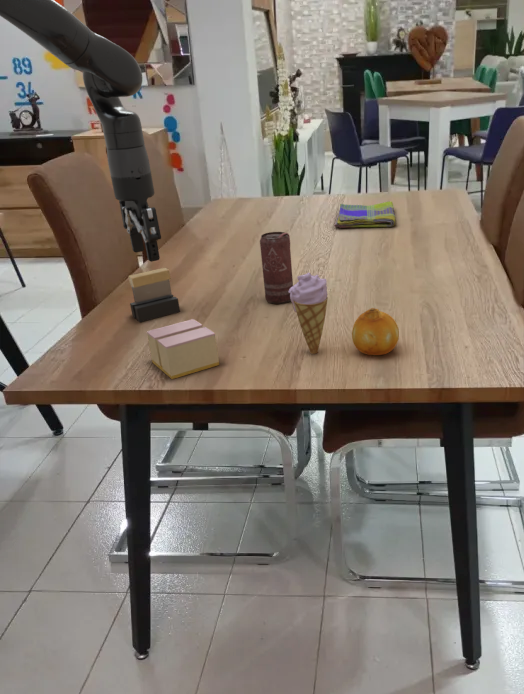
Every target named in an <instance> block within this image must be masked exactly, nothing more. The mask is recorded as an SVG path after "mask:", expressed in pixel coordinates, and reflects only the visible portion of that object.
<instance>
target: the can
mask: <svg viewBox="0 0 524 694" xmlns="http://www.w3.org/2000/svg"><path fill="white" fill-rule="evenodd" d="M290 236H291V235H290V234H289V233H288V232H284V231H269V232H265V233H263V234H261V236H260V239H259V247H260V257H261V266H262V276H263V286H264V299H265V300H266V301H267V303H269V304H273V305H284V304H287V303H290V302H292V301H291V299H290V294H291V293H289V292H288V291H289V289H290V288H291V287H292V286H294V280H293V279H294V278H293V268H292V255H291V253H292V252H291V237H290Z"/></svg>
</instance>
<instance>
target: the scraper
mask: <svg viewBox="0 0 524 694" xmlns="http://www.w3.org/2000/svg"><path fill="white" fill-rule="evenodd" d="M170 273H171V272H170V269H168V268H166V267H161V268H157V269H153V270H148V271H143V272H138V273H134V274H130V275H128V282H129V286H131V291H132V295H133V300H134V302H135V305H136V306H139V305H143V304H147V303H151V302H155V301H159V300H163V299H167V298H171V297H172V295H173V292H172V287H171V282H170V280H171V274H170Z"/></svg>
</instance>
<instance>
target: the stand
mask: <svg viewBox="0 0 524 694" xmlns="http://www.w3.org/2000/svg"><path fill="white" fill-rule="evenodd" d="M129 306H130V311H131V316H132V318H133V319H136V321H137V322H138V323H142V322H146V321H151V320H155V319H157V318H162V317H165V316H169V315H173V314H178V313H180V312H181V308H180V303H179V298H178V297H177V296H174V295H173V294H172V297H171V298H167V299H163V300H159V301H155V302H151V303H147V304H143V305H139V306H136V305H135V301H134V302H133V301H132V302H129Z"/></svg>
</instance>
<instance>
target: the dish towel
mask: <svg viewBox="0 0 524 694" xmlns="http://www.w3.org/2000/svg"><path fill="white" fill-rule="evenodd" d="M395 225H396V215H395V207H394V203H393V201H385V202H379V203H375V204H371V205H364V204H345V203H339V212H338V215H337V218H336V221H335V223H334V227H338V228H339V229H347V228H348V229H349V228H351V229H352V228H392V227H394V226H395Z"/></svg>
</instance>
